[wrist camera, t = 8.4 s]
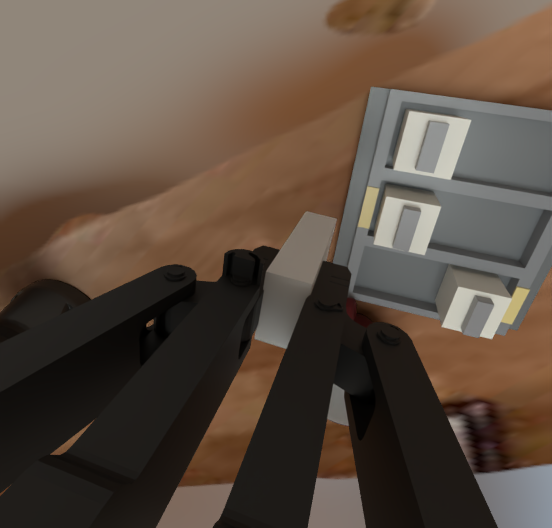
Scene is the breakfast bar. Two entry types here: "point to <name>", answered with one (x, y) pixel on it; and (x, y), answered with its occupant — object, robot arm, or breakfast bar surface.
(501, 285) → the tab
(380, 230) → the tab
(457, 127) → the white and grey block
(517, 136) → the switch bank
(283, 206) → the breakfast bar surface
